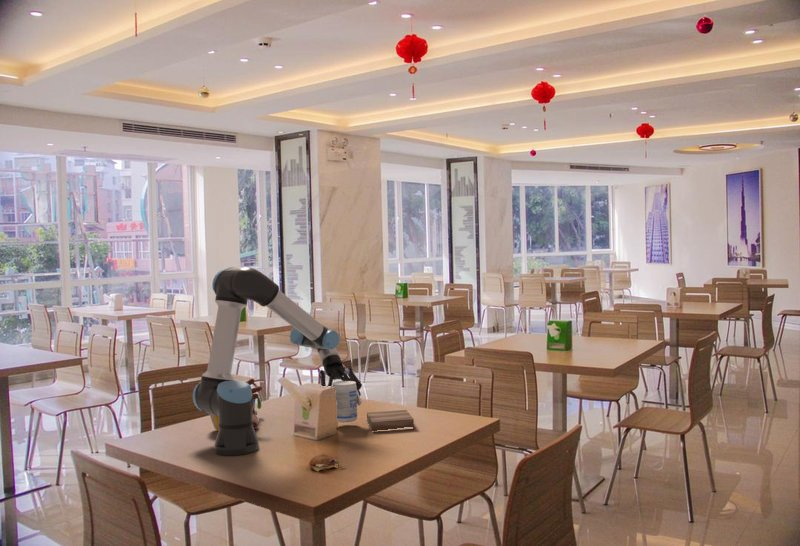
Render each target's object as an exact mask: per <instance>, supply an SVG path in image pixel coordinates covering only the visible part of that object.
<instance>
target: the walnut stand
mask: <svg viewBox="0 0 800 546" xmlns="http://www.w3.org/2000/svg"><path fill="white" fill-rule="evenodd" d="M367 422H368V423H367ZM366 423H367V425H368V424H369V425H368V427H369V426H370V427H369V429H370V428H371V429H370V431H371V430H372V431H377V430H388V429H397V428H404V427H414V428H415V421H414V417H412V416H411V413H409V412H408V410H407V409H401V410H398V409H397V410H387V411H386V410H385V411H371V412H370V411H369V412H366ZM372 431H371V432H372Z"/></svg>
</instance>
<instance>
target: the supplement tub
mask: <svg viewBox="0 0 800 546" xmlns="http://www.w3.org/2000/svg"><path fill="white" fill-rule="evenodd" d="M332 387H335V390H336V400H337V403H338V406H337V421H338V422H337V423H350V422H351V423H352V422H355V421H357V419H358V404H357V387H356V382H354V381H342V380H339V381H333V382H332ZM332 387H331V388H332Z"/></svg>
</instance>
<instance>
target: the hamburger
mask: <svg viewBox="0 0 800 546" xmlns="http://www.w3.org/2000/svg"><path fill="white" fill-rule="evenodd" d="M309 466H310V468H311V469H312V470H314V471H316V472H319V471H327V470H330V469H332V468H336V469H338V468H339V469H341V470H344V469H343V468H344V467H343V466H339V462H338V461H337V460H336V459H335V458H334V457H333V456H332V455H331V454H328V453H326V454H325V453H321V454H318V455H315V456H313V457H312V458H311V459H310V460H309Z"/></svg>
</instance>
